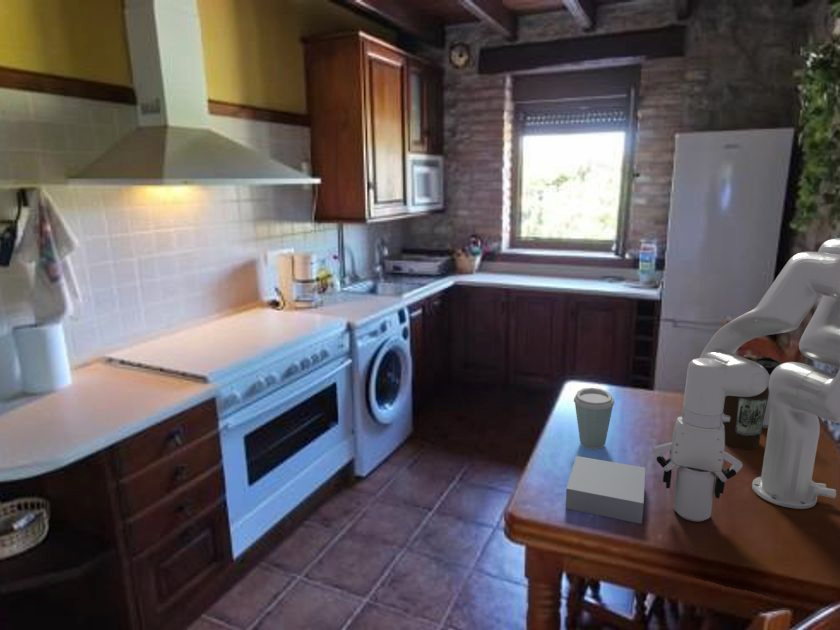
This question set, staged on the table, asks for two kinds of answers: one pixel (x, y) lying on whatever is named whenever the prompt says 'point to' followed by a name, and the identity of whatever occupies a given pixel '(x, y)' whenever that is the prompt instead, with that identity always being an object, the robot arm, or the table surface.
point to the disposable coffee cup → (593, 416)
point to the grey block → (606, 489)
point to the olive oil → (745, 417)
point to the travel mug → (769, 366)
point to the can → (694, 493)
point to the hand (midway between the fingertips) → (691, 490)
